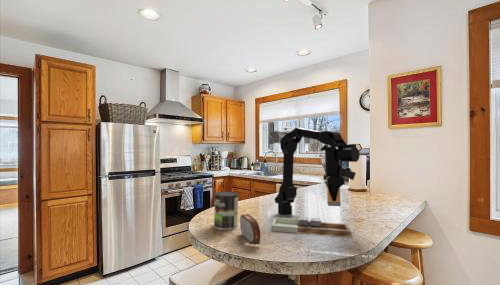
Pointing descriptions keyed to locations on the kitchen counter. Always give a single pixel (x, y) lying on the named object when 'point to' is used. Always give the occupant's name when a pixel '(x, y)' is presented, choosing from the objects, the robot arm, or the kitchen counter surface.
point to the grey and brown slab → (250, 228)
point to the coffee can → (226, 210)
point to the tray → (285, 225)
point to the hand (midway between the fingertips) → (333, 199)
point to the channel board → (327, 229)
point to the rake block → (330, 201)
